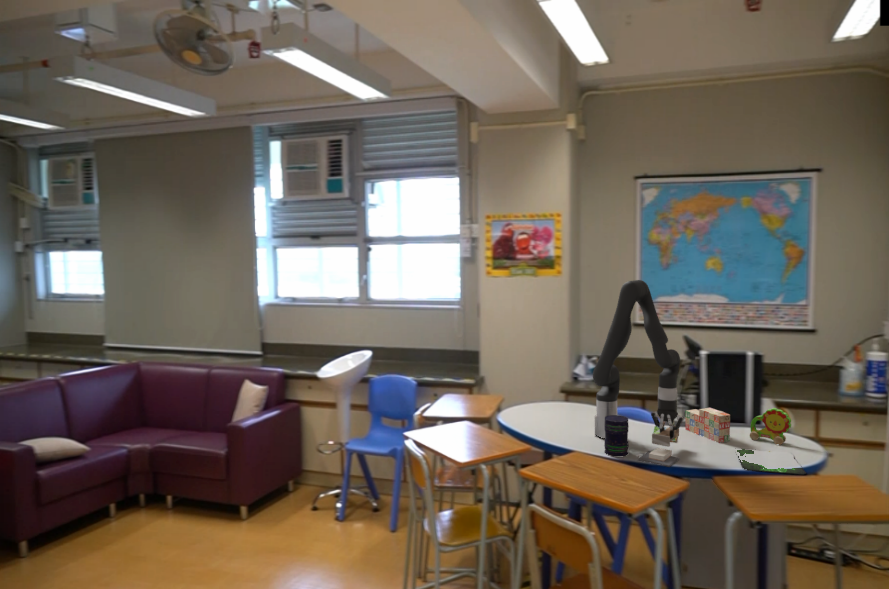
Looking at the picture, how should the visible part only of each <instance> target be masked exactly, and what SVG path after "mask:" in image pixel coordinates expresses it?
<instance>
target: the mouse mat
mask: <svg viewBox="0 0 889 589" xmlns="http://www.w3.org/2000/svg"><path fill="white" fill-rule="evenodd" d="M741 449H742V450H737V452H739V453H740V456H743V455H744V454H745V453H746V454H754V451H752V450H745V449H746V448H741ZM745 457H746V456H745ZM738 458H739V456H738V457H737V459H738ZM739 460H740V459H738V461H739ZM742 461H743V462H741V460H740V461H739V463H741V464H740V465H741V468H742V469H743V468H744V469H743V470H745V469H747V470H746V471H749V470H752V471H751V472H761V471H762V472H764V473H773V474H784V475H785V474H786V475H787V474H789V475H796V476H797V475H800V476H804V475H806V474H807V471H805V469H804V468H803V467H802V468H792V469H784V468H781V469H780V468H778V469H767V468H765V467H764V466H762V465H758V464H754V463H749V462H747V461H745V460H742ZM763 468H764V469H763Z"/></svg>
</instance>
